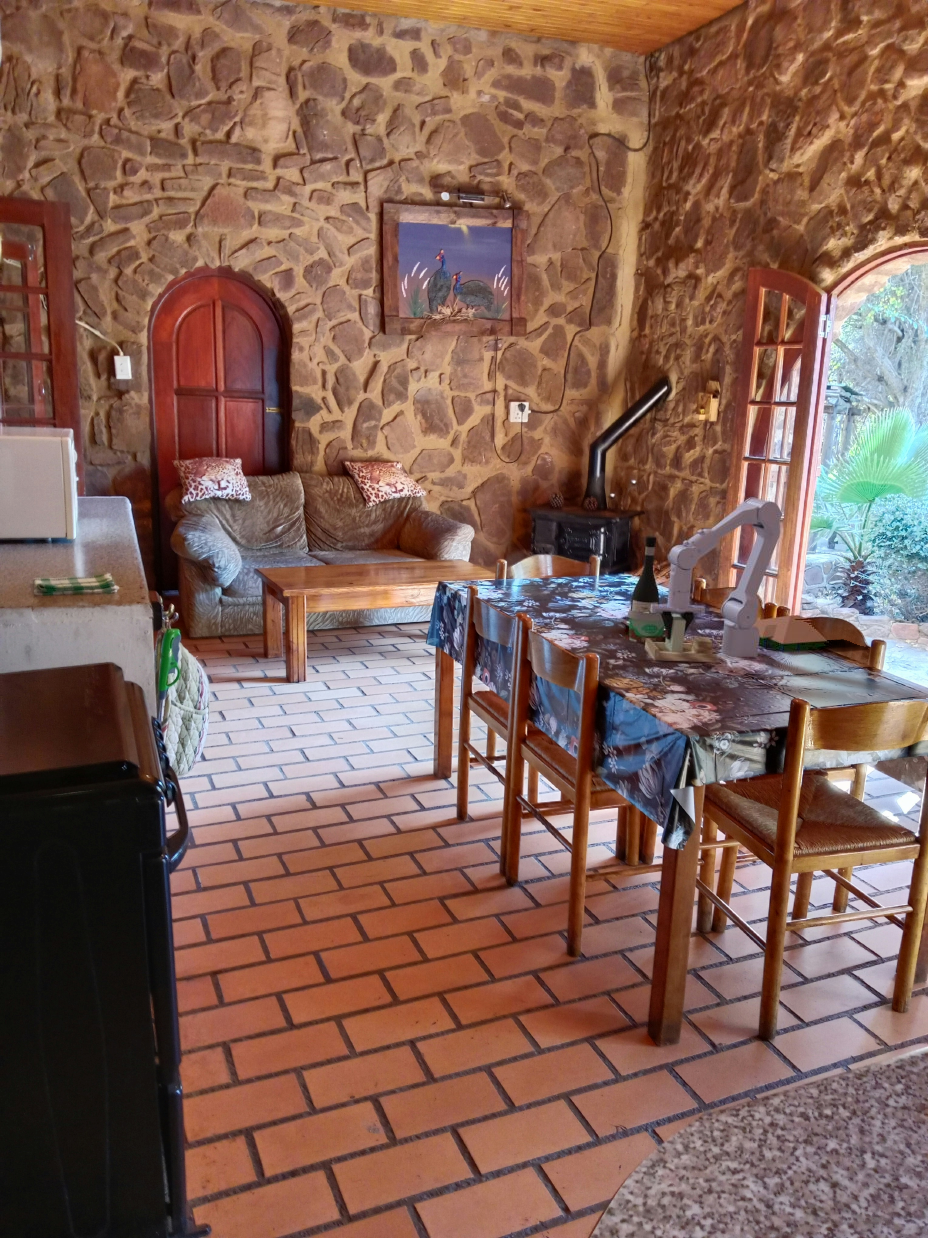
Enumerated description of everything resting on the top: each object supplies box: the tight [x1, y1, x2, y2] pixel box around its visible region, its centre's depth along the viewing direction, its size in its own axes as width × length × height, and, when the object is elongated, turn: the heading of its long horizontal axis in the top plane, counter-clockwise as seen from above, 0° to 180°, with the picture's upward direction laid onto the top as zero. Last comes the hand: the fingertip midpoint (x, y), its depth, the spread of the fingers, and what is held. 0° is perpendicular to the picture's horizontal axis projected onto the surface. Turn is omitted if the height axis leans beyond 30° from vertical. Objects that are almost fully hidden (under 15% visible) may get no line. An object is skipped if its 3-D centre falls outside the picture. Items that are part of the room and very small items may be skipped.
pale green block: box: [665, 613, 686, 653], centre depth 272 cm, size 3×7×9 cm, turn 3°
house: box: [753, 614, 828, 652], centre depth 299 cm, size 23×33×8 cm
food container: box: [626, 608, 665, 645], centre depth 285 cm, size 12×6×10 cm, turn 105°
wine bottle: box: [630, 535, 660, 612], centre depth 291 cm, size 8×8×30 cm
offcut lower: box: [691, 644, 714, 654], centre depth 274 cm, size 4×6×2 cm, turn 3°
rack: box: [644, 638, 720, 663], centre depth 274 cm, size 18×11×4 cm, turn 93°
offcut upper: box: [693, 636, 713, 650], centre depth 273 cm, size 4×5×2 cm
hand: (674, 638), depth 273 cm, fingers closed on pale green block, 3 cm apart
